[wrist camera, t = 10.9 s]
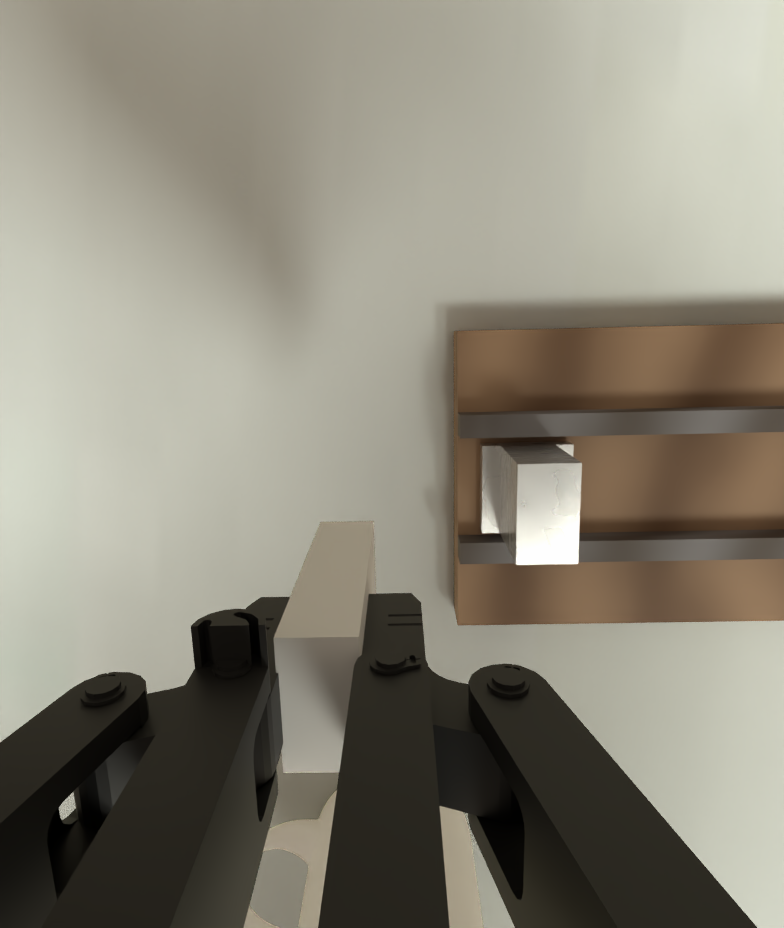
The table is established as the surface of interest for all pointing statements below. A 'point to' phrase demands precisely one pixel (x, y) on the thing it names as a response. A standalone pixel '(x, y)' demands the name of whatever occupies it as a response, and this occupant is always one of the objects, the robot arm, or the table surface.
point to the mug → (313, 848)
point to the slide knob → (532, 499)
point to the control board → (630, 471)
